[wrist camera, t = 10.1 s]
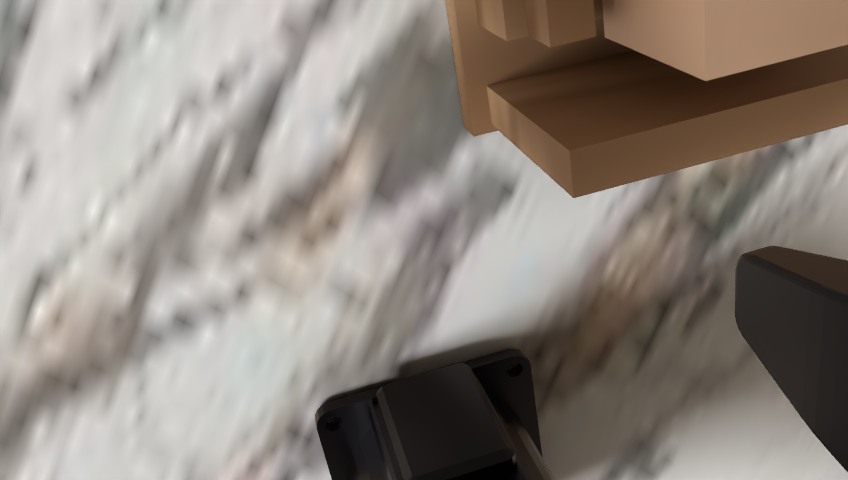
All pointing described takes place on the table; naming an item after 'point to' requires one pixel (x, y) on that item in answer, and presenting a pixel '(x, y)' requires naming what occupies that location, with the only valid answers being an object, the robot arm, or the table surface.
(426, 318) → the table surface
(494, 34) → the rack
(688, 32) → the tan rectangular block
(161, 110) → the table surface
